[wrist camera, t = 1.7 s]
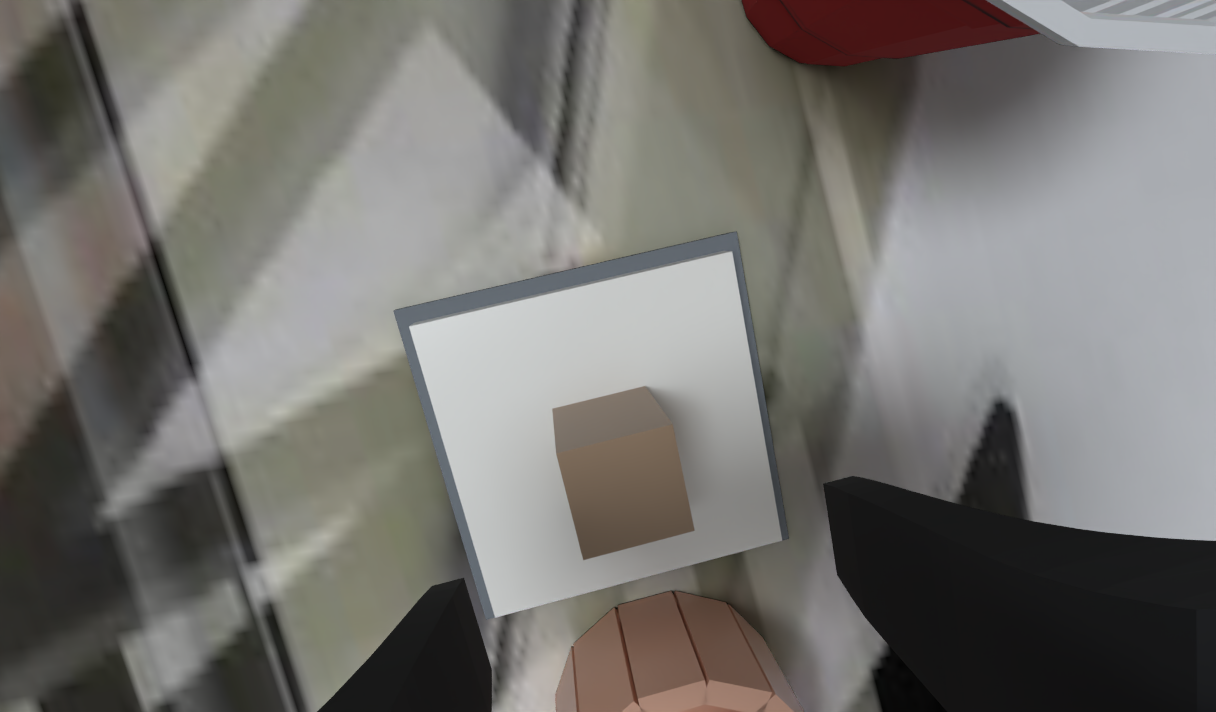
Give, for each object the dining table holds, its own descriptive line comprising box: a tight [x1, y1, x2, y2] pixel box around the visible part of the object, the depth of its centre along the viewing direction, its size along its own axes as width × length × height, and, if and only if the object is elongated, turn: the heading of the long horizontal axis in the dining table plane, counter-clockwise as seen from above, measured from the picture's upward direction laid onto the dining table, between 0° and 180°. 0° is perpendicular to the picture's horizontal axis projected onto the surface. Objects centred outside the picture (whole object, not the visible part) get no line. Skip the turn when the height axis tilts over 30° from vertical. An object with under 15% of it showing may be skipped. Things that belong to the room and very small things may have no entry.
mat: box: [394, 232, 789, 620], centre depth 20 cm, size 11×11×1 cm
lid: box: [409, 251, 782, 617], centre depth 18 cm, size 10×10×5 cm
